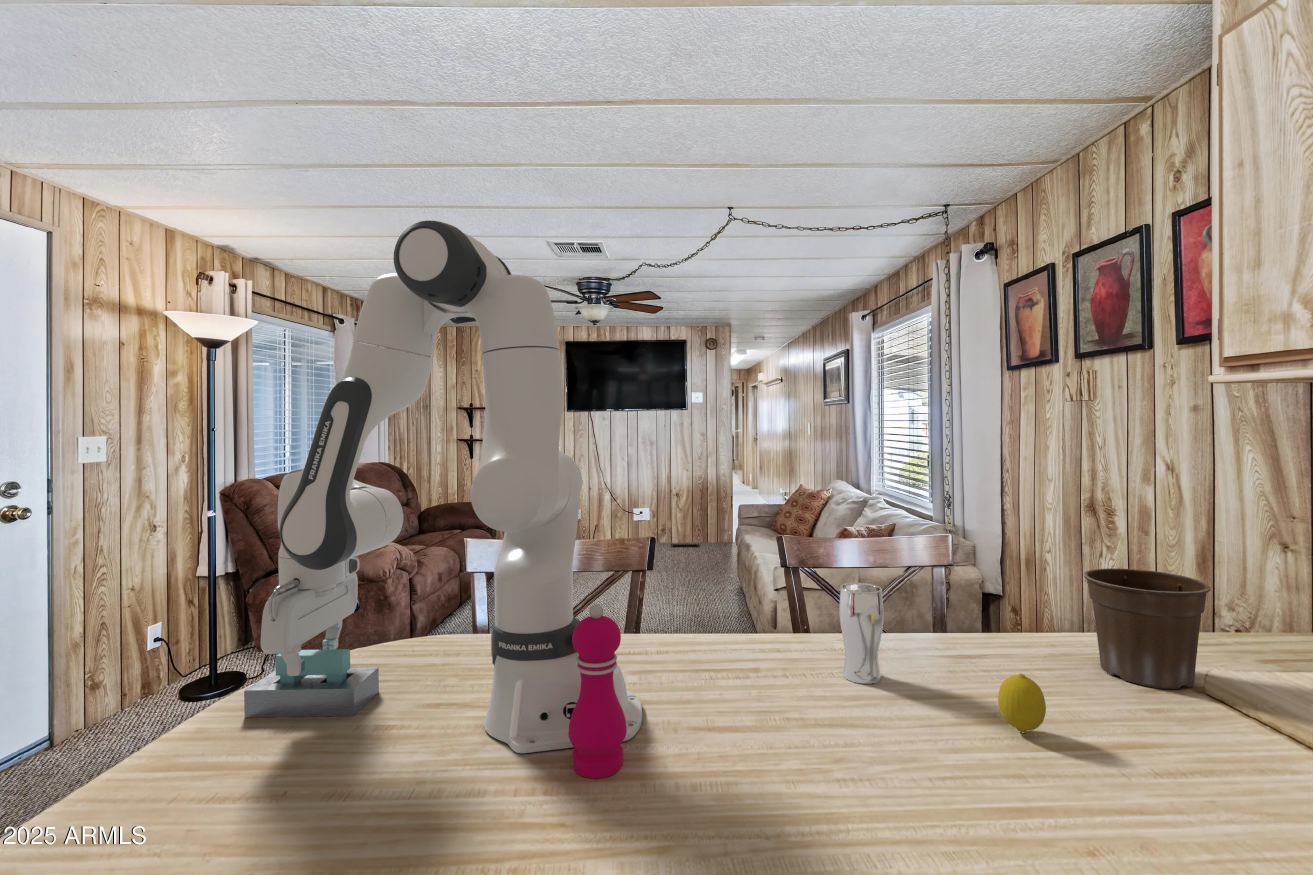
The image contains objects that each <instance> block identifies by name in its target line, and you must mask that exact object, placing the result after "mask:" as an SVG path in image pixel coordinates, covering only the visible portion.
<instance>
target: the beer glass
mask: <svg viewBox="0 0 1313 875" xmlns="http://www.w3.org/2000/svg"><path fill="white" fill-rule="evenodd" d="M883 599H884V598H883V588H881V586H879V585H876V584H872V583H866V582H847V583H843V584H841V585H840V593H839V624H840V630H841V636H842V639H843V640H842V642H843V646H844V664H843V668H842V676H843V677H844V679H846V680H847V679H848V681H849V680H850V681H849V682H852V683H855V682H856V684H862V685H872V683H874V684H877V683H879V682H880V681H881V680H882V675H881V674H882V673H881V669H880V663H879V651H880V644H881V641H882V633H883V629H884V628H883V626H884V600H883ZM878 681H879V682H878ZM876 682H877V683H876Z"/></svg>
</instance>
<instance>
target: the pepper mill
mask: <svg viewBox="0 0 1313 875" xmlns="http://www.w3.org/2000/svg"><path fill="white" fill-rule="evenodd" d="M588 613H589V616H586V617H584V618H582V619H581V620H580V622H579V623H578V624H577V625H576V627H575V629H574V632H573V637H572V642H573V647H574V649H575V650H576V652H577V653H578V654H579V655H578V657H577V662H578V664H577V670H578V671H579V672H580V675H581V690H580V695H579V698H578V701H577V704H576V706H575V708H574V710H573V713H572V715H571V719H570V722H569V732H568V735H569V739H570V742H571V743H572V745H573V746H574V747H573V748H574V749H573V750H572V767H573V770H574V772H575V773H576V774H578V775H579V776H581V777H584V778H588V779H601V778H604V779H605V778H608V777H611V776H613V775H615V774H617V773H618V772H619V771H620V770H621V769H622V767H623V765H624V748H623V746H622V745H621V744H623V742H624V741H623V740H624V738H625V736H626V733H627V727H626V719H625V716H624V712H623V710H622V707H621V705H620V703H619V701H618V698H617V696H616V693H615V689H614V682H613V673H614V670H615V669H616V667H617V665H618V663H617V660H618V655H617V654H616V651H617V650H618V649H619V647H620V645H621V641H622V636H621V635H622V634H621V630H620V627H619V625H618V624H617V623H616V621H615V620H614V619H612V618H610V617H608V616H605V615H604V608H603V606H602V605H601V604H597V603H594V604H593V605H591V606H590V608H589V611H588Z"/></svg>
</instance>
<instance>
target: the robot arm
mask: <svg viewBox="0 0 1313 875" xmlns="http://www.w3.org/2000/svg"><path fill="white" fill-rule="evenodd" d="M393 266H394V269H395V272H396V273H388V274H383V275H380V276H378V277H377V278H376V279H374V280H373V281H372V282H371V284H370V286H369V288H368V290H367V293H366V295H365V297H364V301H363V304H362V306H361V309H360V312H359V315H358V319H357V323H356V326H355V331H354V334H353V336H354V337H353V342H352V346H351V351H350V355H349V358H348V361H347V364H346V366H345V369H344V371H343V374H341V377H340V379H339V380H338V382H337V383H336V384H335V385H334V387H333V388H332V389H331V390H330V392H329V394H328V396H327V398H326V400H325V402H324V405H323V408H322V410H321V413H320V417H319V419H318V423H317V425H316V426H317V427H316V429H315V432H314V435H313V439H312V442H311V446H310V449H309V452H308V455H307V458H306V461H305V465H304V467H302V468H298V469H297V468H296V469H295V470H291V471H289V472H288V473H286V474H285V475H284V476H283V477H282V479H281V483H280V486H279V490H278V499H277V500H278V501H277V529H278V532H279V538H280V546H279V550H278V585H277V586H275V587H274V588H273V592H272V593H271V594H270V596H269V597H268V599H267V601H266V602H265V604H264V607H263V611H262V618H261V628H260V630H261V631H260V649H261V650H262V652H263V653H264V654H267V655H278V654H281V656H282V658H283V659H284V661H285V663H286V664H287V674H288V675H289V676H298V675H299V674H301V673H302V672H303V671H304V670H305V667H304V666H305V660H301V658H300V655H299V652H300V651H301V650H302V646H303V644H305V643H306V642H308V641H310V640H312V639H313V638H314V637H316V636H318V635H319V634H321V633H322V632H324V631H326V632H325V637H324V639H323V640H322V643H321V644H322V650H329V649H339V648H338V647H339V637H340V634H341V631H342V627H343V620H344V619H345V618H348V617H349V616H351V615H352V614H354V612H355V610H356V607H357V604H358V595H359V593H358V588H359V587H358V586H359V584H358V582H359V580H358V579H359V578H358V574H357V573H356V572H358V571H359V570H360V559H359V558H358V556H361V555H364V554H366V553H370V552H372V551H374V550H377V549H380V548H383V547H385V546H388V545H389V544H391V543H392V542H394V541H396V540H397V539H398V537H399V536H400V534H401V532H402V531H403V528H404V525H405V524H404V523H405V512H404V508H403V505H402V502H401V501H400V499H399V498H398V497H397V495H396V493H395V494H394V492H392V491H391V490H390V489H386V488H382V487H378V486H374V485H371V484H367V483H363V482H362V481H358V480H356V479H355V475H356V473H357V469H358V466H359V461H360V459H361V456H362V454H363V449H364V446H365V443H366V441H367V439H368V437H369V436H370V434H371V433H372V431H373V430H374V429H375V428H376V427H377V426H378V425H380V424H381V423H382V422H383V421H385V420H386V419H388V418H390V417H391V416H393V415H394V414H397V413H398V412H400V411H403V410H405V409H407V408H409V407H410V406H412V405H413V404H415V403H416V402H417V401H418V400H419V399H421V397H422V396H423V394H424V392H425V389H426V387H427V385H428V382H429V379H430V376H431V372H432V371H431V370H432V365H433V357H434V355H435V348H436V341H437V337H438V333H439V332H440V329H441V327H442V326H443V324H445V323H446V322H447V321H449V320H450V322H452V323H454V324H456V325H458V324H466V323H473V322H476V323H477V324H476V325H477V327H478V330H479V336H480V337H479V338H480V347H481V348H480V350H481V362H482V363H481V364H482V375H483V377H482V378H483V386H484V388H483V389H484V399H485V400H484V401H485V404H484V405H485V415H484V416H485V417H484V426H483V428H484V429H483V436H482V445H481V450H480V451H481V452H480V461H479V465H478V469H477V472H476V474H475V476H474V477H473V480H472V483H471V485H470V486H471V487H470V501H471V502H470V503H471V506H472V508H473V510H474V513H475V514H476V516H477V518H478V519H479V520H480V521H481V522H482V523H483V524H484V525H486V526H487V527H489V528H491V529H493V530H496V531H497V532H504V533H503V539H502V544H501V549H500V553H499V557H498V559H497V561H496V564H495V567H494V575H493V576H494V623H493V624H492V625H491V634H490V647H491V648H490V652H491V653H490V656H491V661H492V665H493V677H492V684H491V691H490V692H491V693H490V699H489V704H488V707H487V712H486V716H485V718H484V721H483V722H484V723H483V725H484V726H483V727H484V729H485V731H486V733H487V734H488V735H490V736H491V737H492V738H494V739H497V740H498V741H501V742H503V743H505V744H507V745H508V747H510V749H511V750H512V751H513V752H515V753H517V754H527V753H528V754H529V753H536V752H537V753H538V752H546V751H553V750H561V749H562V750H563V749H569V748H570V749H571V748H575V747H574V746H573V745H572V743H571V742H570V739H569V735H568V732H569V722H570V719H571V715H572V713H573V710H574V708H575V706H576V704H577V701H578V698H579V695H580V690H581V675H580V672H579V671H578V670H577V664H578V662H577V657H578V655H579V654H578V653H577V652H576V650H575V649H574V647H573V642H572V637H573V632H574V629H575V627H576V625H577V624H578V623H579V622H580V621H581V620H580V619H578V618H577V617H575V616H574V595H573V594H574V593H573V591H574V590H573V588H574V587H573V586H574V582H573V581H574V578H573V577H574V576H573V575H574V569H573V568H574V554H575V547H576V540H577V532H578V524H579V511H580V498H581V491H582V488H583V487H582V486H583V477H582V472H581V469H580V468H579V466H578V464H577V463H576V462H575V461H574V460H573V459H572V457H571V456H568V455H567V453H564V452H563V451H561V450H560V436H561V435H560V434H561V425H562V424H561V423H562V415H563V412H564V409H565V395H564V394H565V393H564V381H563V371H562V359H561V358H562V357H561V348H560V347H561V346H560V339H559V332H558V326H557V321H556V317H555V312H554V309H553V303H552V300H551V297H550V293H549V292H548V289H547V288H546V287H545V286H544V284H543V283H542V282H541V281H540V280H538V279H536V278H533V277H532V276H529V275H524V274H512V272H511V270H510V269H509V267H508V266H507V264H506V263H505V262H504V261H503V260H502V259H501V258H499V257H498V256H497V255H495V254H494V253H493V252H491V251H490V250H489V249H488V248H487V246H485V245H484V244H483V243H482V242H481V241H479V240H477V239H476V238H474V237H472V236H471V235H469V234H467V233H465V232H463V231H461V230H460V229H459V228H458V227H456V226H454V225H452V224H449V223H446V222H443V221H438V220H421V221H417V222H415V223H413V224H411V225H410V226H408V227H407V228H405V229H404V231H403V232H402V233H401V234H400V235H399V237H398V239H397V241H396V243H395V246H394V250H393ZM613 682H614V689H615V693H616V696H617V698H618V701H619V703H620V705H621V707H622V710H623V712H624V716H625V719H626V727H627V733H626V736H625V738H624V740H623V742H626V741H629V740H631V739H633V737H635V735H636V734H637V733H638V732H639V730H640V728H641V726H642V722H643V708H642V702H641V699H640V698H639V697H638V695H636V693H634V692H633V691H631V690H627V685H626V682H625V678H624V674H623V672H622V670H621V668H620V666H619V665H618V664H617V667H616V669H615V670H614V673H613Z"/></svg>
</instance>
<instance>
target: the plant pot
mask: <svg viewBox="0 0 1313 875" xmlns="http://www.w3.org/2000/svg"><path fill="white" fill-rule="evenodd" d="M1083 577H1084V579H1086V580H1087V587H1088V595H1089V599H1091V602H1092V608H1093V609H1092V610H1093V614H1094V621H1095V623H1094V624H1095V629H1096V630H1095V631H1096V637H1097V638H1096V639H1097V645H1098V653H1099V655H1098V656H1099V663H1100V664H1099V665H1100V667H1101V669H1102V670H1103V671H1104V672H1105V671H1106V672H1107V674H1108V673H1109V674H1108V675H1110V674H1111V675H1110V676H1112V675H1114V676H1118V677H1120V678H1121V679H1122V681H1124V680H1125V681H1124V682H1127V681H1128V683H1131V682H1132V684H1137V685H1141V686H1142V685H1143V686H1142V687H1147V686H1148V687H1147V688H1154V689H1168V690H1171V689H1172V690H1179V689H1181V687H1185V688H1191V687H1192V686H1194V684H1195V679H1196V666H1197V658H1198V657H1197V656H1198V647H1199V646H1198V645H1199V637H1200V629H1201V628H1200V627H1201V620H1202V614H1204V612H1205V609H1206V600H1207V593H1209V592H1210V591H1211V586H1210V584H1208V583H1206V582H1205V581H1202V580H1199V579H1195V578H1192V577H1188V576H1185V575H1181V574H1174V573H1169V572H1163V571H1155V570H1147V569H1136V568H1109V567H1108V568H1095V569H1089V570H1087V571H1084V572H1083ZM1106 672H1105V673H1106Z"/></svg>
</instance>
